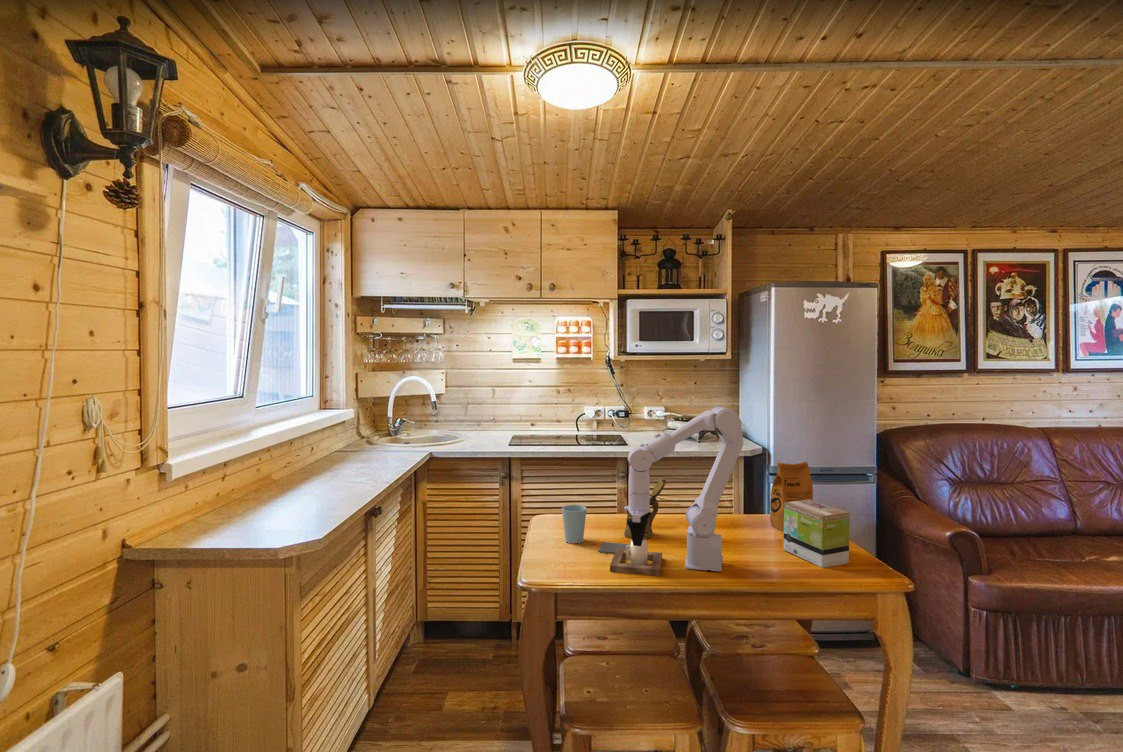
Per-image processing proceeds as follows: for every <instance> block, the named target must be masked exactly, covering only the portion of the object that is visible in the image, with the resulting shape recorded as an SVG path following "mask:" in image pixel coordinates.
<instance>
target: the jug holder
mask: <svg viewBox="0 0 1123 752" xmlns="http://www.w3.org/2000/svg"><path fill="white" fill-rule="evenodd" d="M629 555H631V549H629ZM624 559H626V550H620V549H616V552H615V554H613V557H612V560H611V562H610V565H609V572H610V573H611V572H612V573H622V574H623V573H625V574H634V575H635V574H636V575H645V576H655V577H656V576H657V577H659V576H660V573H661V568H662V560H663V552H657V551H648V558H647V561H652V563H651V565H647V566H645V565H634V564H631V563H630V564H629V563H622V562H623V560H624Z"/></svg>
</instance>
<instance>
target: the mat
mask: <svg viewBox="0 0 1123 752" xmlns="http://www.w3.org/2000/svg"><path fill="white" fill-rule="evenodd" d="M626 545H630V544H629V543H619V542H607V541H606V542H605V541H602V542H601V544H600V546H599V548H598V549H597V550H598V551H597V553H598V552H600V554H609V553H613V555H614V554H615V552H616V549H620V550H626Z"/></svg>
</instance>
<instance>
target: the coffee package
mask: <svg viewBox="0 0 1123 752" xmlns="http://www.w3.org/2000/svg"><path fill="white" fill-rule="evenodd" d="M776 464H777V465H776V466H777V469H778V470H777V472H776V474H775V478H774V480H773V483H772V486H771V490H770V500H769V501H770V503H769V506H770V507H769V508H770V512H769V521H770V524H771V526H774V528H776V529H777V530H778V531H781V532H784V502H785V503H786V502H793V501H800V500H807V499H810V500H813V501H814V498H813V497H814V492H813V491H814V489H813V480H812V476H811V473H810V468H809V467H810V466H809V463H808V462H807V461H804V462H803V461H802V462H800V463H795V464H793V463H785V462H777V463H776Z"/></svg>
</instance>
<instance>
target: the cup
mask: <svg viewBox="0 0 1123 752" xmlns="http://www.w3.org/2000/svg"><path fill="white" fill-rule="evenodd" d="M561 512H562V522H563V530H564V531H563V532H564V540H565V542H566V543H567V542H568V544H570V543H578V544H582V543H583V541H584V534H585V525H586V516H587V507H586V506H584V505H580V504H568V505H564V506H562V507H561ZM581 542H582V543H581Z"/></svg>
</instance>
